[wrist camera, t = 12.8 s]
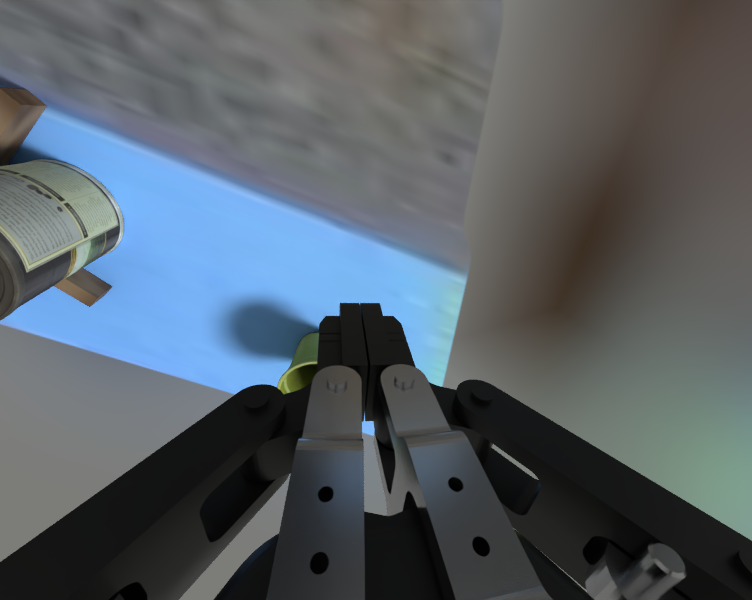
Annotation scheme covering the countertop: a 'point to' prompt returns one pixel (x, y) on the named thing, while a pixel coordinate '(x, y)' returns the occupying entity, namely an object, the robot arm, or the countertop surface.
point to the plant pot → (301, 365)
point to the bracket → (3, 138)
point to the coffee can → (50, 227)
